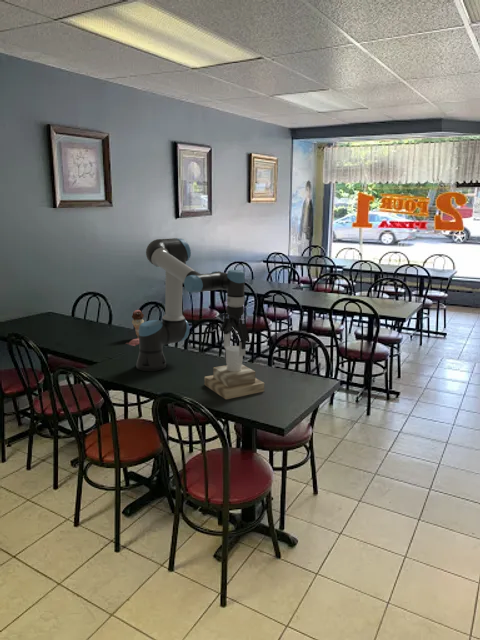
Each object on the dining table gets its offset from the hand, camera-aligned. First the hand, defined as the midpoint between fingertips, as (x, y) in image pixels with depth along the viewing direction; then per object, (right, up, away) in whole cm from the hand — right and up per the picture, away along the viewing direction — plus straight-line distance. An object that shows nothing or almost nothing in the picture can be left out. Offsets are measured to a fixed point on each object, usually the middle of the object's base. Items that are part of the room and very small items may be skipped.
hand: (234, 351), depth 226 cm
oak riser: (0, -17, +4) cm, 17 cm away
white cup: (0, -8, +2) cm, 9 cm away
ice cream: (-60, +1, +76) cm, 97 cm away
